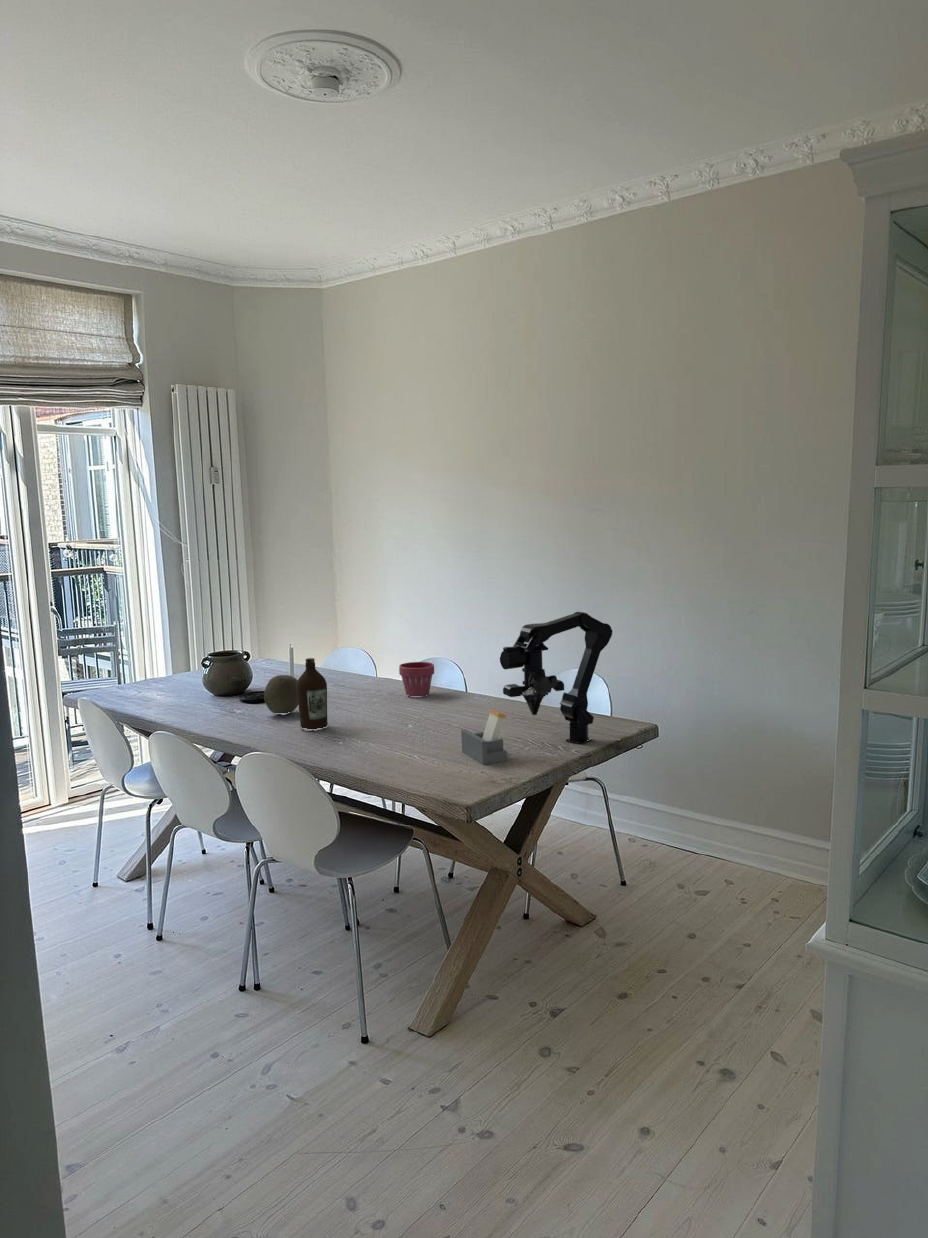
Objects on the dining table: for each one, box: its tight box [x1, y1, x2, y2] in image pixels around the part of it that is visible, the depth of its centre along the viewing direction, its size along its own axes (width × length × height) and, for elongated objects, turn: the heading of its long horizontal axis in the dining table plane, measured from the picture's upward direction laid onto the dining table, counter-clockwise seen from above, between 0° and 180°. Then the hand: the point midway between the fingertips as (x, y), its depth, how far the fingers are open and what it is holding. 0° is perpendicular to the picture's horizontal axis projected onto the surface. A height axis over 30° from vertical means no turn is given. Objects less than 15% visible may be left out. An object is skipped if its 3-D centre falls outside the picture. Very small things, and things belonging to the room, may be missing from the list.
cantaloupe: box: [263, 674, 299, 714], centre depth 330 cm, size 14×14×15 cm
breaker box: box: [460, 728, 508, 765], centre depth 266 cm, size 8×16×7 cm, turn 23°
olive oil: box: [296, 657, 329, 729], centre depth 306 cm, size 11×11×25 cm
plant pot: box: [398, 661, 435, 697], centre depth 353 cm, size 14×14×13 cm
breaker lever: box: [482, 708, 507, 741], centre depth 267 cm, size 3×7×10 cm, turn 22°
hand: (534, 714), depth 270 cm, fingers closed
